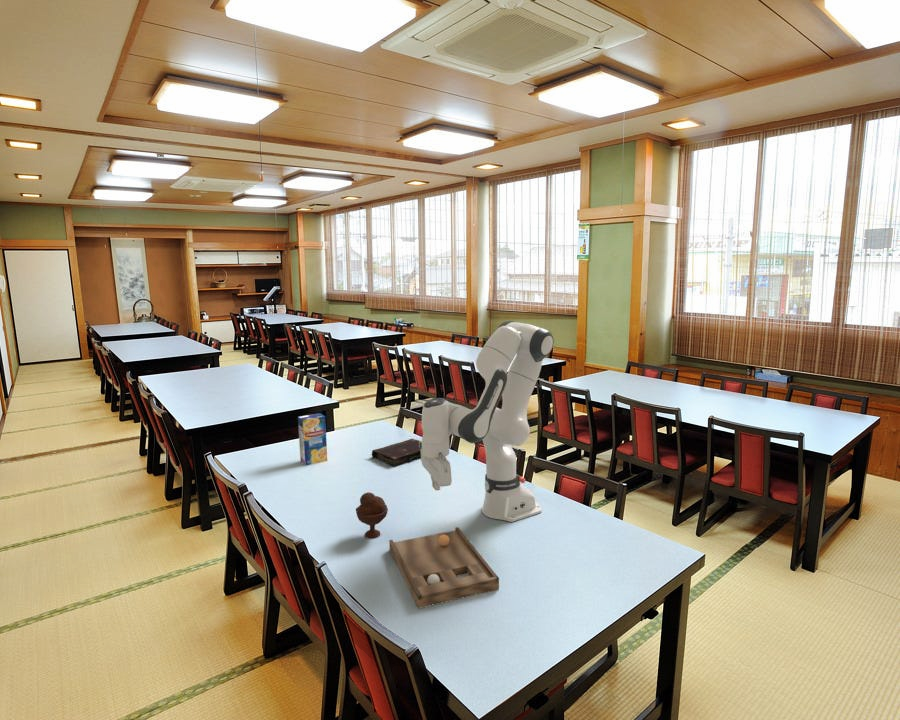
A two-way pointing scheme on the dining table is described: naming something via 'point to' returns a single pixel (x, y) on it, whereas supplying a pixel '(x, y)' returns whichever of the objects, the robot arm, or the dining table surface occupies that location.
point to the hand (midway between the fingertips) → (436, 488)
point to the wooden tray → (442, 568)
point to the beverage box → (312, 439)
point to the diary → (399, 453)
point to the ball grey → (433, 579)
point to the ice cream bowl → (371, 513)
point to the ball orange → (443, 540)
